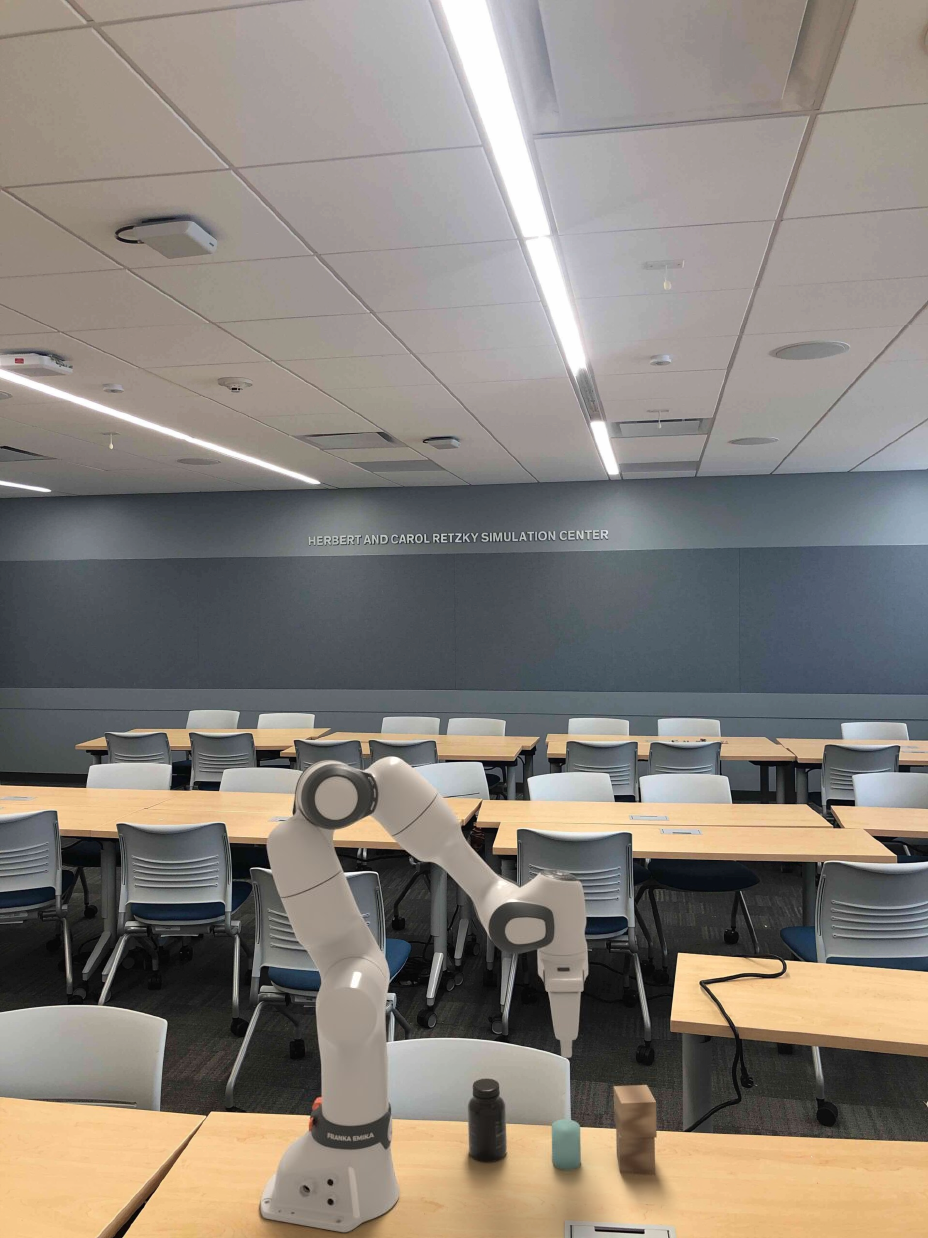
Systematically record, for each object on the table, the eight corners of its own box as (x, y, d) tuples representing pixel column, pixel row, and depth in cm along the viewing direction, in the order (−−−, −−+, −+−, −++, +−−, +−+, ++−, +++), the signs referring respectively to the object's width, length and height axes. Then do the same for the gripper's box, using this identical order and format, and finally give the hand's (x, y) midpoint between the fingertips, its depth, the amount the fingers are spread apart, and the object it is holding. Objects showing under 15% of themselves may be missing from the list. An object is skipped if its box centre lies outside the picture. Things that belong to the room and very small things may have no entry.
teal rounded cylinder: (552, 1169, 154) (551, 1134, 154) (551, 1153, 159) (551, 1119, 159) (581, 1170, 153) (580, 1135, 154) (580, 1154, 158) (579, 1120, 159)
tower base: (619, 1173, 152) (619, 1138, 153) (616, 1153, 158) (616, 1119, 159) (655, 1175, 152) (654, 1139, 152) (650, 1155, 158) (650, 1120, 158)
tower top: (622, 1139, 152) (621, 1103, 152) (614, 1120, 158) (613, 1086, 158) (656, 1137, 153) (655, 1102, 153) (647, 1119, 159) (646, 1085, 159)
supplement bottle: (498, 1139, 164) (497, 1073, 164) (512, 1159, 157) (511, 1090, 158) (463, 1146, 161) (462, 1079, 162) (475, 1167, 155) (474, 1096, 155)
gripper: (544, 944, 168) (547, 1019, 167) (545, 985, 147) (548, 1070, 147) (578, 944, 167) (580, 1019, 167) (583, 985, 147) (586, 1071, 146)
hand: (565, 1043), depth 157 cm, fingers open, 8 cm apart
